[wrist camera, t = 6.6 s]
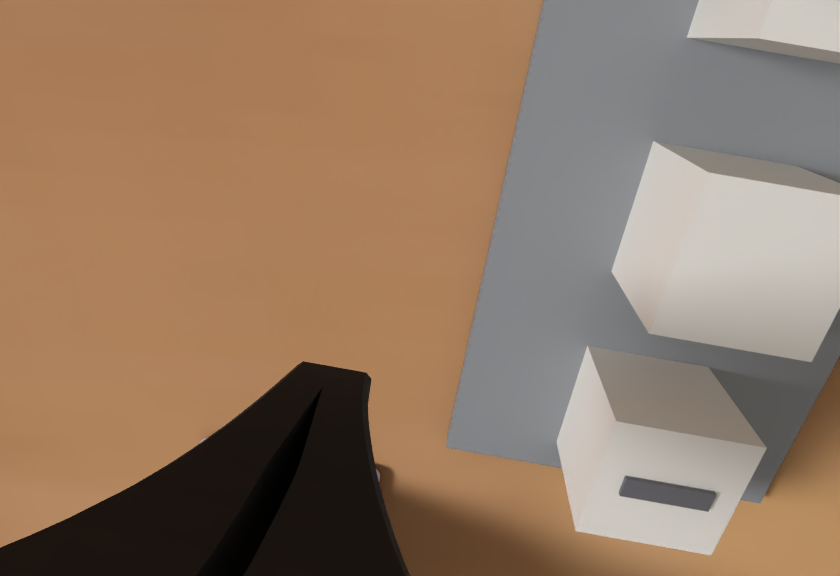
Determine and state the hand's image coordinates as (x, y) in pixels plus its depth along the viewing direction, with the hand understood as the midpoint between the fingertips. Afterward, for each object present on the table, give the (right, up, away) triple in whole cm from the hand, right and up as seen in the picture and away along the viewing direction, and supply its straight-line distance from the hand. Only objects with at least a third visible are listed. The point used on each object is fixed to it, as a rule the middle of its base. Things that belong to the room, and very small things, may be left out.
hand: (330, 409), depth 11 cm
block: (+10, -2, +11) cm, 15 cm away
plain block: (+11, +5, +8) cm, 14 cm away
